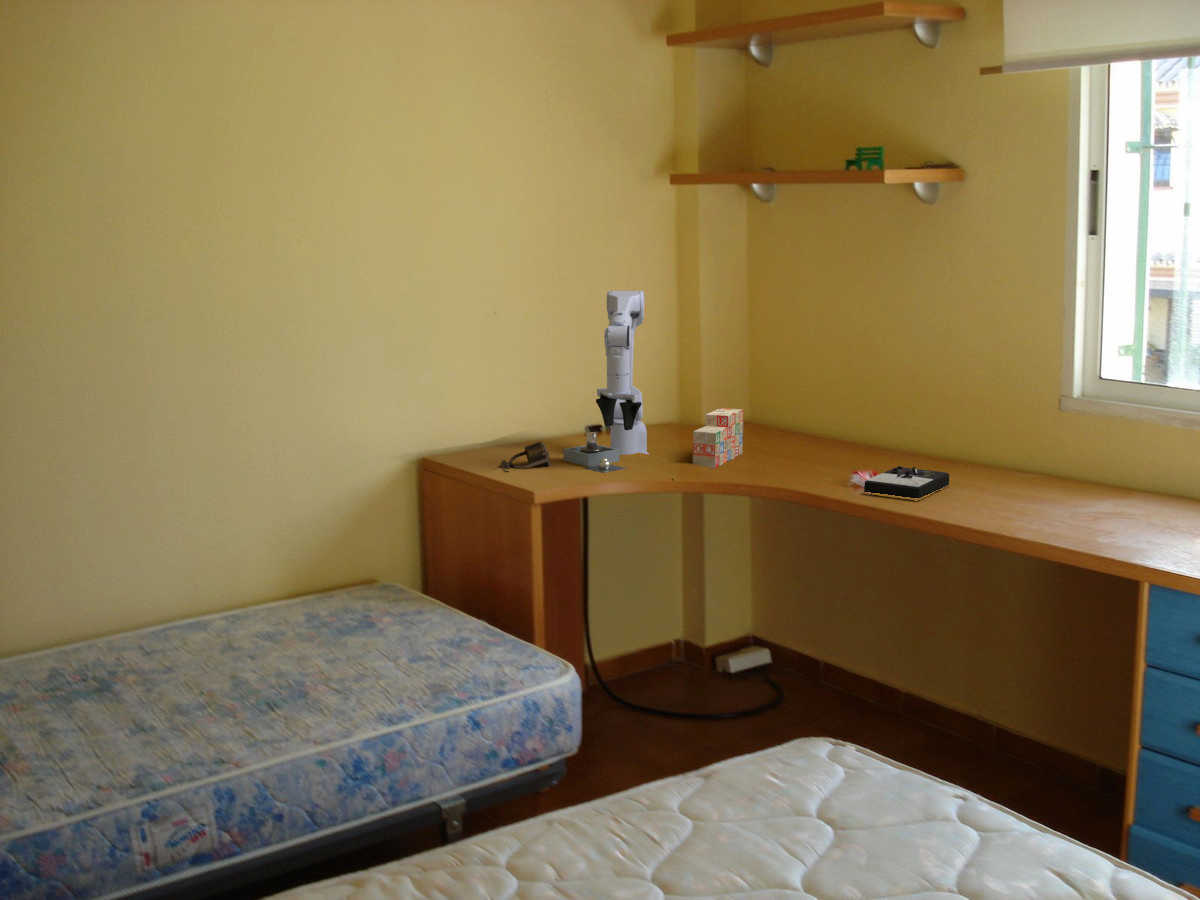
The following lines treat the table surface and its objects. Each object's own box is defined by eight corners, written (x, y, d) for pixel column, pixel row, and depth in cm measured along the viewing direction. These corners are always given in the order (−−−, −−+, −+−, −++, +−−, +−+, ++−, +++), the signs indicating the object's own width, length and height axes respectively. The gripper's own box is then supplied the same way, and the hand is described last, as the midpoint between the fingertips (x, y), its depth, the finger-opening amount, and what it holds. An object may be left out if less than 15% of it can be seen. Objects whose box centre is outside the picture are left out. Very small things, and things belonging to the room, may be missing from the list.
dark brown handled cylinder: (550, 453, 304) (555, 437, 313) (499, 448, 304) (505, 432, 314) (549, 479, 307) (553, 463, 316) (498, 474, 307) (504, 458, 316)
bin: (594, 458, 323) (594, 443, 323) (619, 464, 316) (619, 449, 315) (563, 464, 317) (563, 448, 316) (588, 470, 309) (588, 454, 309)
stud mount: (606, 467, 312) (606, 453, 312) (627, 472, 306) (627, 458, 306) (582, 471, 307) (581, 457, 307) (602, 476, 301) (602, 462, 301)
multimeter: (949, 487, 288) (950, 466, 287) (918, 503, 273) (919, 481, 272) (896, 481, 296) (897, 460, 295) (863, 496, 281) (863, 474, 280)
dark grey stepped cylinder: (576, 461, 317) (576, 432, 316) (596, 459, 320) (595, 430, 319) (587, 465, 312) (586, 435, 311) (607, 463, 315) (606, 433, 314)
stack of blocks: (715, 469, 310) (716, 420, 308) (692, 467, 313) (692, 419, 310) (743, 454, 329) (743, 408, 327) (720, 452, 332) (721, 407, 329)
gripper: (587, 372, 310) (588, 425, 312) (624, 378, 299) (625, 433, 301) (609, 370, 314) (609, 422, 317) (646, 375, 303) (646, 430, 306)
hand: (618, 427), depth 309 cm, fingers open, 7 cm apart
